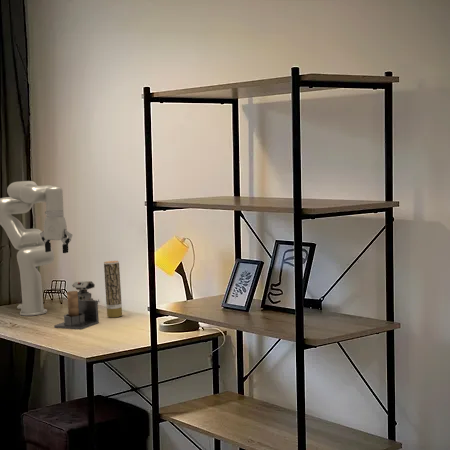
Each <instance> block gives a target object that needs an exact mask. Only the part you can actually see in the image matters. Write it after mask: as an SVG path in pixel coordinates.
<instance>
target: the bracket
mask: <svg viewBox="0 0 450 450" xmlns="http://www.w3.org/2000/svg"><path fill="white" fill-rule="evenodd" d="M97 301H98V300H96V299H93V300H78V308H79V316H69V313H66V314H64V315H63V322H60V323H58V324H55V325H54V327H53V328H55V329H68V330H83V329H87V328H90V327H92V326H94V325H97V324H99V310H98V309H99V302H98V303H97Z"/></svg>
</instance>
